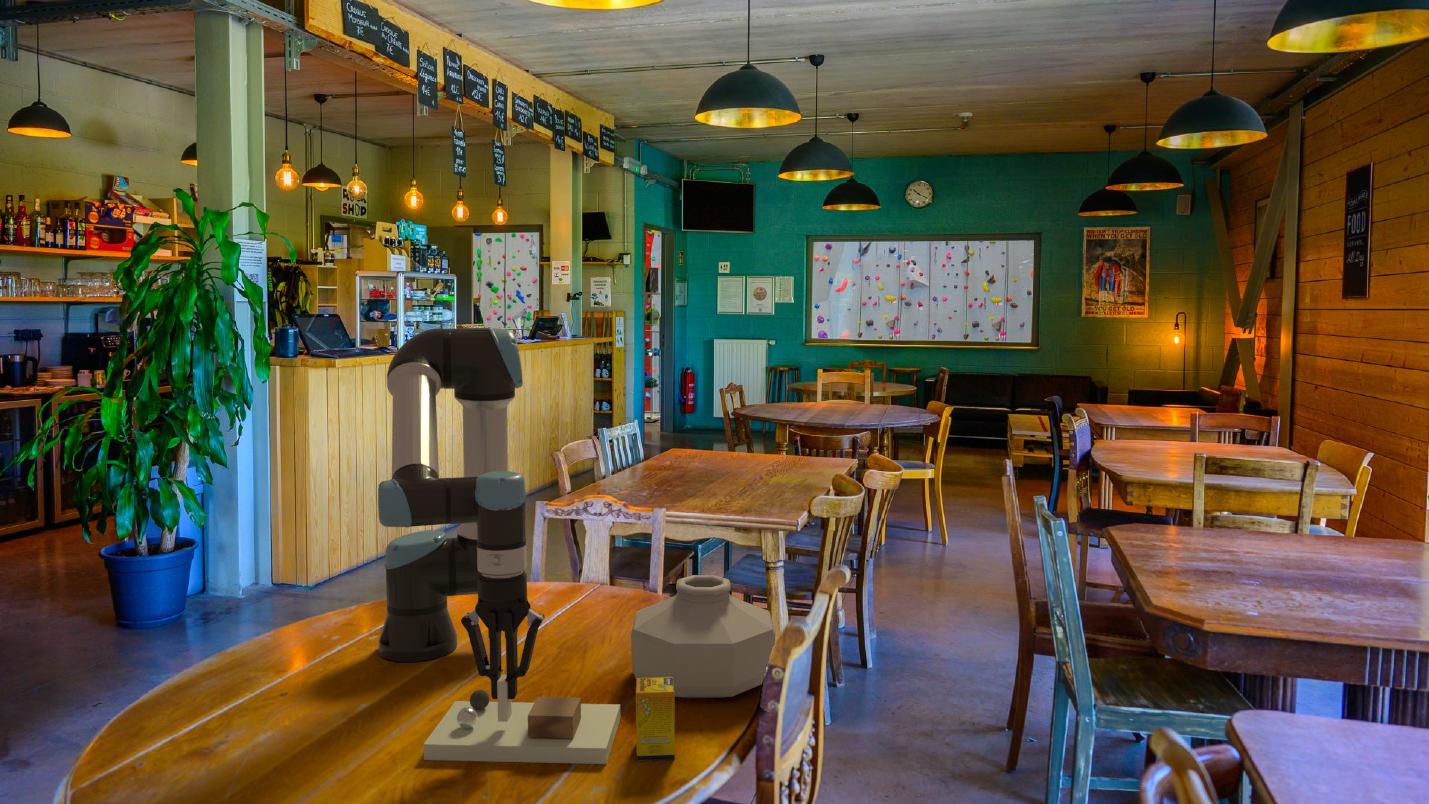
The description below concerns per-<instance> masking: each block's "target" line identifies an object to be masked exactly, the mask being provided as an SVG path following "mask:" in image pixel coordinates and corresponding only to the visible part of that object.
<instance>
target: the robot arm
mask: <svg viewBox="0 0 1429 804" xmlns="http://www.w3.org/2000/svg"><path fill="white" fill-rule="evenodd" d="M517 341H518V340H517V337H516V335H515V333H514V331H512V330H510V329H506V328H496V327H470V328H469V327H467V328H466V327H465V328H463V327H462V328H460V327H459V328H443V327H442V328H430V329H426V330H424V331H421V332H419V333H417V334H415V335H413V336H412V337H411V338H409V339H407V341H406V342H404V343H403V344H402V345H401V347H400V348H399V349H398V350H396V351H397V352H396V353H394V355H393V357H392V359H391V361H390V363H389V366H388V369H387V374H386V375H387V376H386V387H387V390H388V392H389V393H390V395H391V396H392V415H391V416H392V420H391V421H392V422H391V424H392V426H391V429H392V430H391V432H392V433H391V434H392V435H391V479H389V480H383V481H381V482H379V484H378V487H377V488H378V489H377V491H378V492H377V503H378V504H377V505H378V506H377V508H378V520H379V523H380V525H381V526H383V527H385V528H411V527H425V526H437V525H438V526H439V525H456V524H458V527H457V529H456V537H448V536H447V534H446V532H445V531H443V530H441V529H440V530H439V529H435V530H434V529H426V530H420V531H419V530H418V531H415V532H410V533H407V534H404V535H401V536H398V537H396V538H394V539H393V540H391V541H390V542H389V543H388V544H387V546H386V549H385V560H384V562H385V563H384V567H383V568H384V569H385V588H386V589H385V590H386V592H385V593H386V617H385V620H384V622H383V626H382V629H381V631H380V632H381V633H380V636H379V639H378V654H379V656H380V657H382V658H383V659H385V660H387V661H388V660H389V661H392V662H401V663H410V662H411V663H413V662H423V661H430V660H434V659H438V658H440V657H443V656H446V655H448V654H451V653H452V652H454V651H455V650H456V649H457V646H458V634H457V631H456V628H455V626H454V623H453V620H452V617H451V615H450V612H449V610H448V597H457V596H458V597H459V596H469V595H471V596H473V595H477V602H476V604H475V607H474V610H472V611H470V612H467V613H466V614H464V615H463V616H462V617H461V619H460V622H461V624H462V626H463V627H464V629H465V630H466V633H467V635H468V639H469V642H470V645H471V650H472V654H473V657H474V658H473V659H474V661H475V665H476V669H477V672H478V675H479V676H480V677H487V678H488V679H489V680H490V693H491V695H490V696H491V698H492V700H497V702H498V722H508V720H509V718H510V716H511V715H512V708H511V702H512V700H516V699H515V698H516V697H517V695H518V678H523V677H525V676H526V674H527V672H528V671H529V669H530V666H531V661H532V657H533V653H534V648H535V644H536V639H537V635H538V632H539V628H540V626H541V624H542V623H543V622H544V620H545V618H546V617H545V614H543V613H537V612H536V611H534V610H533V609H532V608H531V604H530V601H529V600H528V575H527V572H526V571H525V570H526V569H527V567H528V565H527V563H528V561H527V538H526V537H527V534H526V527H527V526H526V524H527V523H526V521H527V520H526V519H527V517H526V515H527V514H526V513H527V511H526V505H527V503H526V501H527V500H526V499H527V497H528V496H527V495H528V493H527V492H526V483H525V482H526V480H525V477H524V476H523V474H522V473H520V472H514V471H510V470H508V469H509V467H508V463H509V459H508V454H509V453H508V451H509V450H508V448H509V447H508V443H509V442H508V405H509V404H510V403H511V402H512V401H513V400H514V399H515V397H516V389H520V388H521V387H523V383H524V380H523V369H522V363H521V356H520V350H519V346H518V342H517ZM441 389H443V390H447V389H448V390H451V389H453V390H454V399H455V400H456V401H457V402H458V403H460V405H461V406H462V439H463V440H462V443H463V444H462V445H463V448H462V449H463V476H459V477H457V476H456V477H440V470H439V469H440V467H439V445H438V444H439V442H438V441H439V439H438V418H437V416H438V415H437V414H438V413H437V395H438V394H439V392H440V390H441ZM459 524H460V525H459ZM525 618H527V621H526V625H528V627H529V628H528V629H527V632H526V636H525V641H524V643H523V649H522V654H521V658H520V662H519V661H518V657H519V656H518V655H519V654H518V631H519V626H520V625H521V624H522V622H523V621H524V620H525ZM480 620H481V622H482V623H483V624H484V626H485V627H486V628H487V630H488V639H489V642H488V643H489V655H488V653H487V649H486V645H485V641H484V638H483V634H482V630H481V627H480V624H479V623H480ZM502 632H504V639H505V660H506V662H505V663H506V664H505V665H506V666H505V667H506V668H505V670H506V672H505V673H506V674H502V672H503V669H502V667H503V666H502ZM488 656H489V657H488ZM518 663H519V664H518Z"/></svg>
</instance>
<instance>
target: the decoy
mask: <svg viewBox="0 0 1429 804" xmlns="http://www.w3.org/2000/svg"><path fill="white" fill-rule="evenodd" d="M469 701H470V705H471V706H472V707H473V708H474V709H476V710H482V709H484V708H486V707H487V705H488V704H489V702H490V694H489V693H488V692H487V691H486V690H484V689H477V690H475V691H473V692H472V694H470V697H469Z"/></svg>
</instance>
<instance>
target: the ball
mask: <svg viewBox="0 0 1429 804" xmlns="http://www.w3.org/2000/svg"><path fill="white" fill-rule="evenodd" d="M477 719H478V716H477V712H476V711H475V710H474V709H473V708H469V707H467V708H463V709H462V710H460V712H459V713H458V715H457V723H458V725H459V726H460V727H462V728H465V729H468V728H471V727H473V726H474V725H475V724H476V722H477Z"/></svg>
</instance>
